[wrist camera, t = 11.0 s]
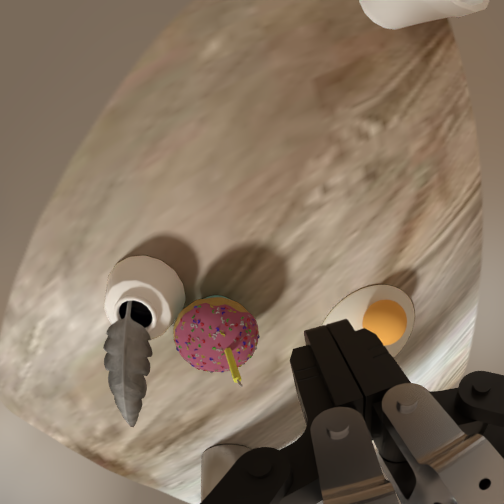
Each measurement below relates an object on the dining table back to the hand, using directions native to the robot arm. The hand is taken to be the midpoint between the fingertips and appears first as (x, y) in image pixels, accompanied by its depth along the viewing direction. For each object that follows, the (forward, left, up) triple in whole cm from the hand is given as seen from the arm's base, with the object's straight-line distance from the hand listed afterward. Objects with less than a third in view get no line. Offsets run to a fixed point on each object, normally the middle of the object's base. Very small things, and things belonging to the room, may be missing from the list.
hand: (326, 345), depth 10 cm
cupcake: (-13, +1, -23) cm, 26 cm away
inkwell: (-17, +8, -23) cm, 29 cm away
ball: (-8, -18, -20) cm, 28 cm away
